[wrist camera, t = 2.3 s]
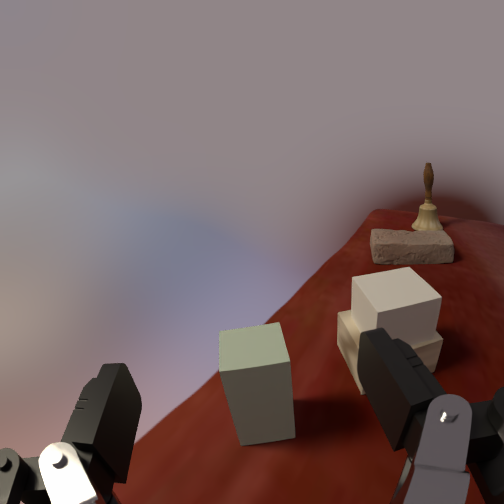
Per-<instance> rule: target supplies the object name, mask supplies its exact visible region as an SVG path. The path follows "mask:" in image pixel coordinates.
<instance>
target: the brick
mask: <svg viewBox="0 0 504 504" xmlns="http://www.w3.org/2000/svg"><path fill="white" fill-rule="evenodd" d="M370 246H371V253H372V258H373V261H374V263H377V264H394V265H397V264H439V263H452V262H453V259H454V247H453V242H452V240H451V238H450V237H448V235H447V234H446V233H445V231H440V230H438V231H431V230H426V231H414V232H410V231H406V230H399V231H394V230H387V229H373V230H371V238H370Z"/></svg>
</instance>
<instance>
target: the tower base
mask: <svg viewBox="0 0 504 504" xmlns="http://www.w3.org/2000/svg"><path fill="white" fill-rule="evenodd" d="M360 334H361V333H360V331H359V330H358V328H357V326H356V324H355V323H354V321H353V319H352V317H351V310H348V311H343V312H339V313H338V335H337V344H338V346H339V348H340V351H341V353H342V355H343V357H344V359H345V361H346V363H347V365H348V367H349V369H350V371H351V373H352V375H353V377H354V379H355V382H356V384H357V386H358V388H359V390H360V392H361V394H362V395H364V394H366V393H365V391H364V389H363V387H362V385H361V383H360V381H359V378H358V373H357V360H358V350H359V339H360ZM442 343H443V338H442V337H441V336H440V335H439V334H438V332H437V331H436V330H435V335H434V339H432V340H429V341H425V342H422V343H419V344H415V345H412V346H411V347H412V348H413V350H414V351H415V352H416V354H417V355H418V357H420V359H421V360H422V361H423V363H424V365H426V367H427V368H428V369H429V371H430V372H431V373H432V372H434V371H435V368H436V364H437V361H438V357H439V354H440V350H441V347H442Z"/></svg>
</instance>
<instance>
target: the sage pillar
mask: <svg viewBox="0 0 504 504" xmlns="http://www.w3.org/2000/svg"><path fill="white" fill-rule="evenodd" d="M219 373H220V376H221V380H222V384H223V387H224V391H225V394H226V398H227V401H228V405H229V408H230V412H231V415H232V418H233V422H234V425H235V428H236V432H237V435H238V438H239V441H240V445H241V446H243V445H251V444H259V443H266V442H273V441H279V440H285V439H291V438H295V423H294V408H293V394H292V380H291V367H290V359H289V356H288V352H287V348H286V345H285V341H284V338H283V334H282V331H281V327H280V323H279V322H278V323H272V324H266V325H260V326H254V327H246V328H240V329H232V330H225V331H220V332H219Z"/></svg>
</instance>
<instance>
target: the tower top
mask: <svg viewBox="0 0 504 504" xmlns="http://www.w3.org/2000/svg"><path fill="white" fill-rule="evenodd" d="M441 300H442V297H441V296H440V295H439V294H438V293H437V292H436V291H435V290H434V289H433V288H432V287H431V286H430V285H429V284H427V283H426V282H425V281H424V280H423V279H422V278H421V277H420V276H419V275H418V274H416V273H415V272H414V271H413V270H412V269H411V268H410V267H406V268H401V269H395V270H390V271H384V272H379V273H373V274H368V275H362V276H356V277H352V306H351V317H352V319H353V321H354V323H355V324H356V326H357V328H358V330H359V331H360V333H361V332H364V331H368V330H373V329H377V328H381V327H382V328H384V329H385V330H386V332H387V333H388V334H389V336H390V337H391V338H392V340H393V339H397V338H399V339H401V340H402V341H404V342H406V343H407V344H409V345H410V346H412V345H415V344H419V343H422V342H425V341H429V340H432V339H434V335H435V330H436V325H437V321H438V316H439V311H440V305H441Z"/></svg>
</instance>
